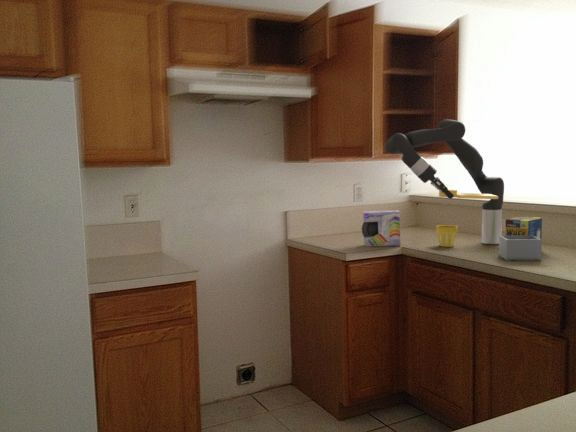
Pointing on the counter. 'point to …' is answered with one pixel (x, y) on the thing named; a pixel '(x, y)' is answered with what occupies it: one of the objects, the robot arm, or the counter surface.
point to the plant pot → (446, 235)
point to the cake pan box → (381, 228)
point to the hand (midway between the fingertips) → (451, 196)
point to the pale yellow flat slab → (469, 195)
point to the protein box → (524, 226)
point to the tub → (520, 247)
